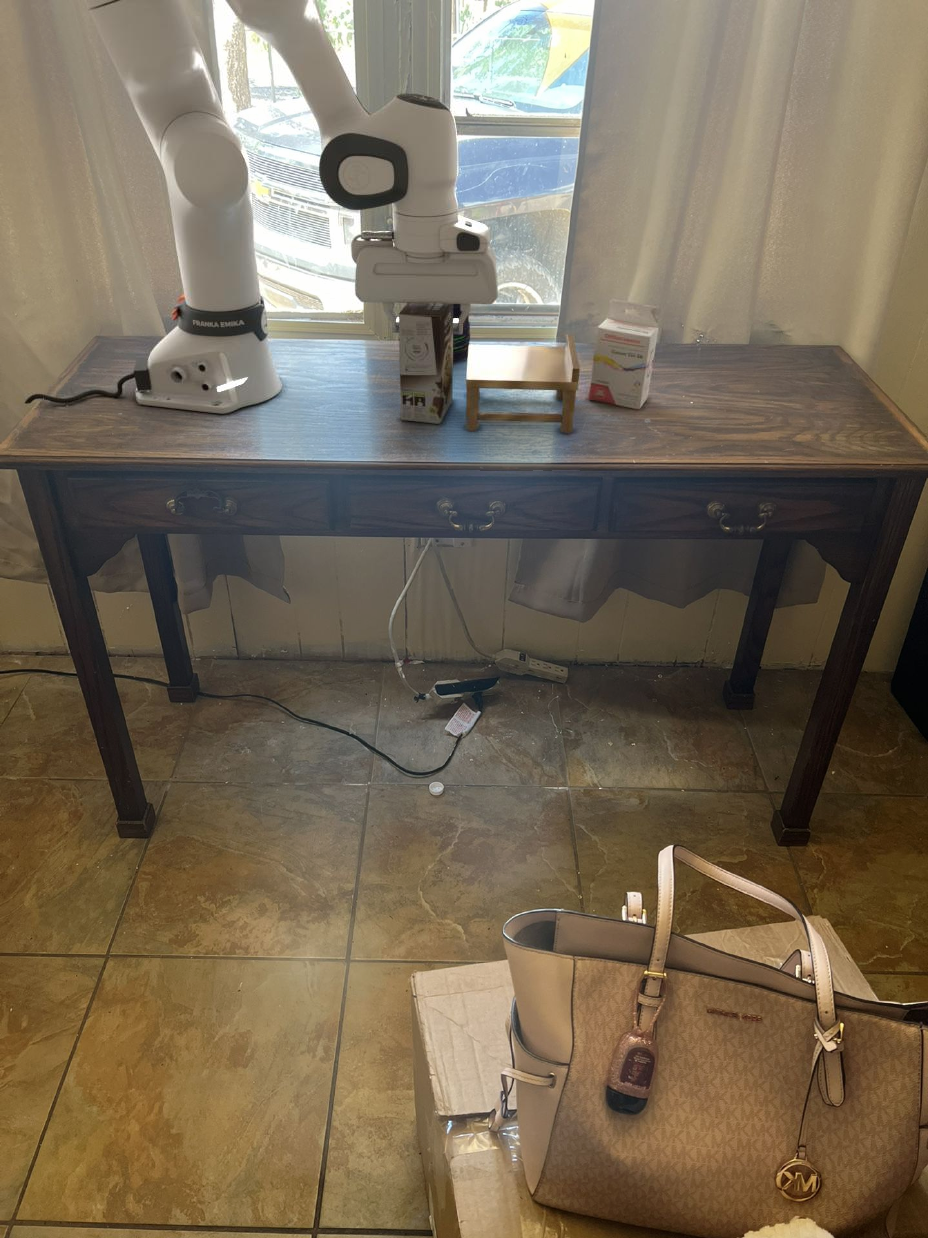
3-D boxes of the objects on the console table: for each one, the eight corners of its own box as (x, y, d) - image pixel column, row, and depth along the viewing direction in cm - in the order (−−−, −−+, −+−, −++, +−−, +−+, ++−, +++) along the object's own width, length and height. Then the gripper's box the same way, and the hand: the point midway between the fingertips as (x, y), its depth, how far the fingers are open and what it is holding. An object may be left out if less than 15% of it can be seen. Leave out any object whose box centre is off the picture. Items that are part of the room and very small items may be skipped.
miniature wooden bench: (465, 431, 131) (466, 365, 125) (467, 393, 142) (468, 331, 136) (573, 434, 131) (579, 368, 125) (567, 395, 142) (573, 333, 136)
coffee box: (441, 424, 133) (441, 316, 123) (399, 420, 134) (396, 313, 124) (454, 400, 140) (455, 296, 130) (414, 396, 141) (412, 293, 131)
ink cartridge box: (587, 400, 141) (597, 306, 132) (597, 389, 144) (607, 297, 135) (640, 410, 138) (653, 315, 129) (648, 398, 141) (662, 305, 132)
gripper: (346, 236, 119) (353, 338, 127) (499, 239, 118) (496, 341, 127) (352, 224, 124) (359, 323, 132) (499, 227, 123) (496, 326, 132)
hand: (427, 332), depth 129 cm, fingers open, 7 cm apart
